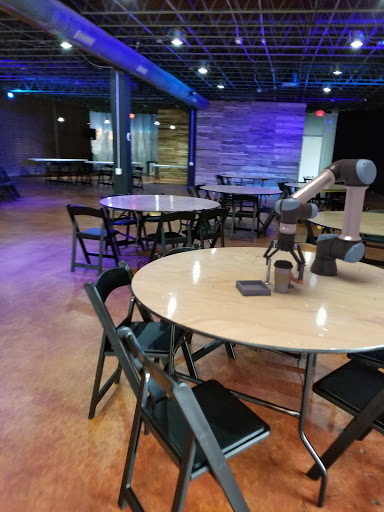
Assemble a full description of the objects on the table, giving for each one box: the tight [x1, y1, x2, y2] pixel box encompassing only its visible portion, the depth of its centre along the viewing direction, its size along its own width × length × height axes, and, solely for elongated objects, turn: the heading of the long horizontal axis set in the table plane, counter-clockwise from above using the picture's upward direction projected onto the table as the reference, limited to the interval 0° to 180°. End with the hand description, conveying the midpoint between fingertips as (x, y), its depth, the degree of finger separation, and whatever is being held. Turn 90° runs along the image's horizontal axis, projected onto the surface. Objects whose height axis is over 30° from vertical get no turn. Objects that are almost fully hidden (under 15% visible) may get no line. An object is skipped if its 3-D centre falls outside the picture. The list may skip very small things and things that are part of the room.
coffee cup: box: [273, 259, 294, 294], centre depth 168 cm, size 9×9×15 cm
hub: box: [287, 280, 295, 289], centre depth 177 cm, size 8×8×4 cm
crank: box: [290, 263, 307, 285], centre depth 172 cm, size 13×6×10 cm, turn 29°
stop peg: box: [263, 270, 272, 286], centre depth 179 cm, size 4×4×7 cm
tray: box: [235, 279, 273, 297], centre depth 168 cm, size 14×14×3 cm
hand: (281, 274), depth 167 cm, fingers open, 13 cm apart
